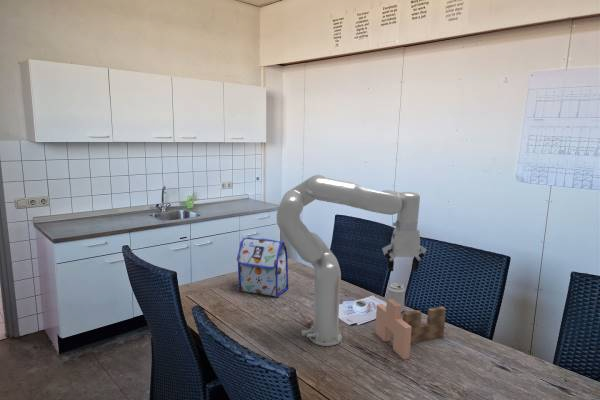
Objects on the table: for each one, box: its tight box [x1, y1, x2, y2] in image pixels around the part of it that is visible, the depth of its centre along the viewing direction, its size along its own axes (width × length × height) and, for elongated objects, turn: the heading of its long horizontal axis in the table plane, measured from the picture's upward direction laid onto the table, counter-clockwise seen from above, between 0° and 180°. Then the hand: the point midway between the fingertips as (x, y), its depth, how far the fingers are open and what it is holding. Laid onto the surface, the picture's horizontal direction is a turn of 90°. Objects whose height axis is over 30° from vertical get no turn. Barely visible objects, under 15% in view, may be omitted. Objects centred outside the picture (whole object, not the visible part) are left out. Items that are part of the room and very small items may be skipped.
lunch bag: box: [236, 236, 290, 298], centre depth 200 cm, size 23×17×27 cm
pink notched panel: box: [374, 299, 412, 360], centre depth 151 cm, size 20×2×17 cm, turn 19°
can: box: [386, 282, 406, 313], centre depth 182 cm, size 8×8×12 cm
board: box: [402, 306, 447, 344], centre depth 156 cm, size 18×2×12 cm, turn 109°
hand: (402, 269), depth 152 cm, fingers open, 9 cm apart
